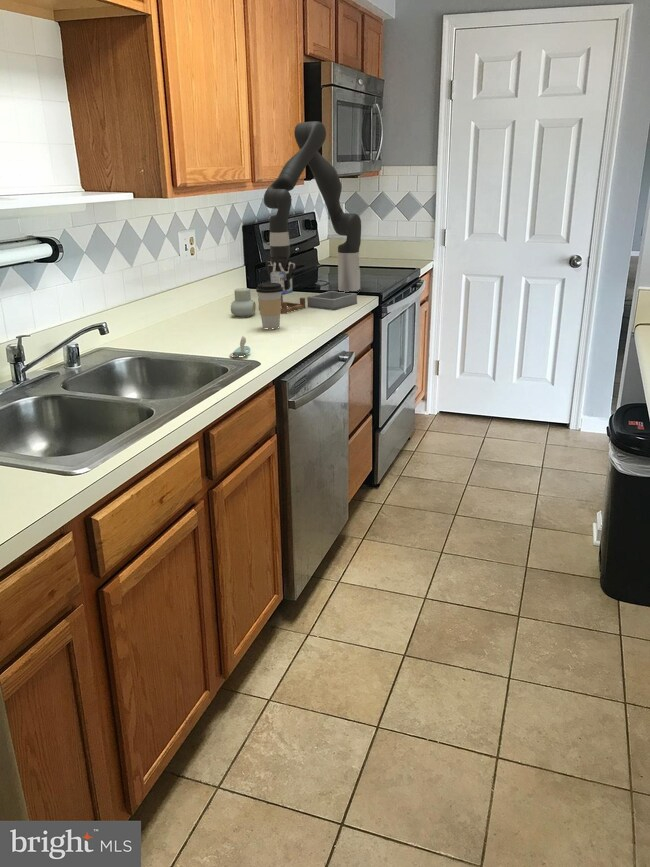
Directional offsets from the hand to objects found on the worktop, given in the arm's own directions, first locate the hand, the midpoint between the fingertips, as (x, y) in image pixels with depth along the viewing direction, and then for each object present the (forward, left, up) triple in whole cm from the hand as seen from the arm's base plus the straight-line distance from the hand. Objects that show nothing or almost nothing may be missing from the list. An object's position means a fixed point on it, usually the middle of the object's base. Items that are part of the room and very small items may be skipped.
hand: (281, 288), depth 279 cm
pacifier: (+63, +35, -8) cm, 72 cm away
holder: (0, 0, -8) cm, 8 cm away
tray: (-16, +12, -8) cm, 22 cm away
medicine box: (0, 0, -2) cm, 2 cm away
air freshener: (+17, -5, -8) cm, 20 cm away
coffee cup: (+28, +18, -8) cm, 34 cm away
